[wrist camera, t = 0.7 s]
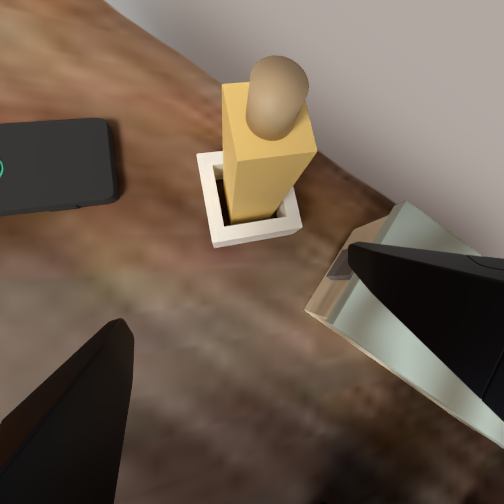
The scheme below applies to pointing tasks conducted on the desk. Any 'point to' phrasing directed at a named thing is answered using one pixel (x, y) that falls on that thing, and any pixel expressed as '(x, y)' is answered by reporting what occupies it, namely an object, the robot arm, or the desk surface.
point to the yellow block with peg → (265, 138)
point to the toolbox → (389, 327)
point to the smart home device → (56, 165)
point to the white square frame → (246, 232)
